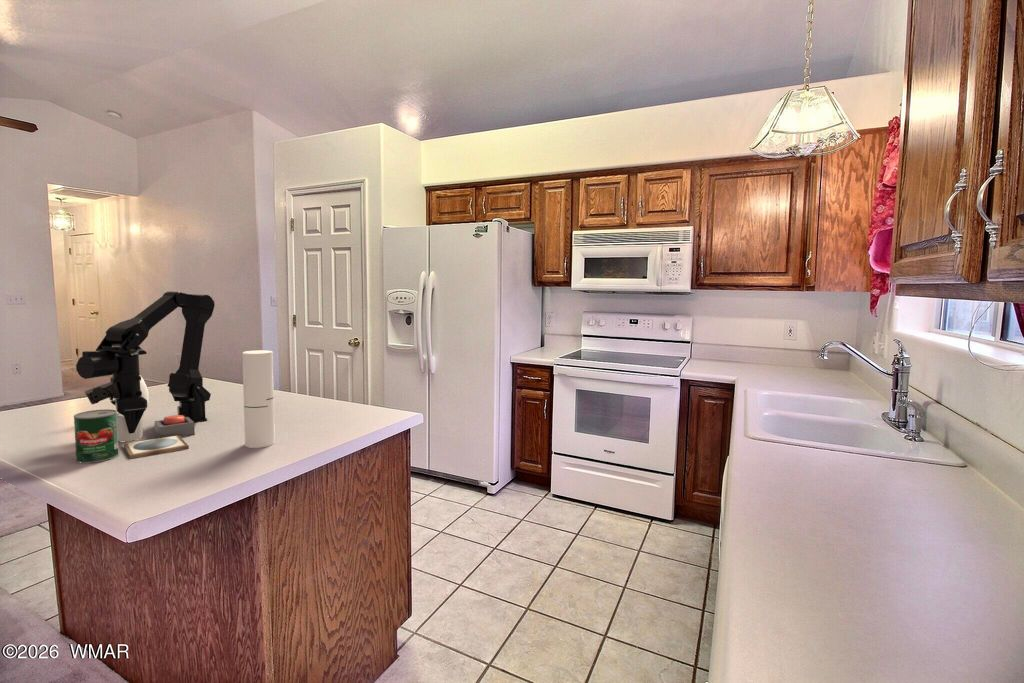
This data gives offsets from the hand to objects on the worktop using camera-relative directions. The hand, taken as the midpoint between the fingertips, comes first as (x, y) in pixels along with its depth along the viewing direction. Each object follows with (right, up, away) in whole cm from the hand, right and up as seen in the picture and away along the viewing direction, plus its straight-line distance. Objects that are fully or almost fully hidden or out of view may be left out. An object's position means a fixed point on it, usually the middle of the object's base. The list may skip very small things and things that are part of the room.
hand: (129, 429), depth 132 cm
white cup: (0, -3, 0) cm, 3 cm away
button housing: (+8, -2, +6) cm, 10 cm away
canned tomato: (+4, -4, -15) cm, 16 cm away
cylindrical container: (+36, -4, -1) cm, 36 cm away
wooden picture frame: (+12, -4, -6) cm, 14 cm away
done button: (+9, 0, +6) cm, 10 cm away
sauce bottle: (-15, 0, +21) cm, 25 cm away
